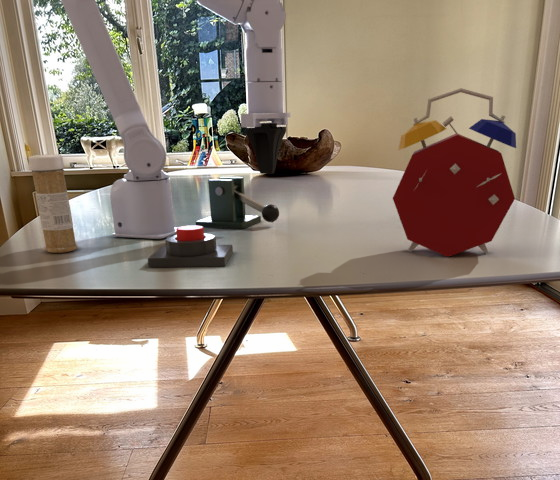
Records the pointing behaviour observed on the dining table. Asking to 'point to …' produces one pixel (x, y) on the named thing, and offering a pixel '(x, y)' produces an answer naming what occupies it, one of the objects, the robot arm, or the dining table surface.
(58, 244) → the sprinkles bottle
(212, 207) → the bracket
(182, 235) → the button
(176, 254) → the button box
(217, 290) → the dining table surface
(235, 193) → the lever
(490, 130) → the alarm clock
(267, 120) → the robot arm
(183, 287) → the dining table surface
